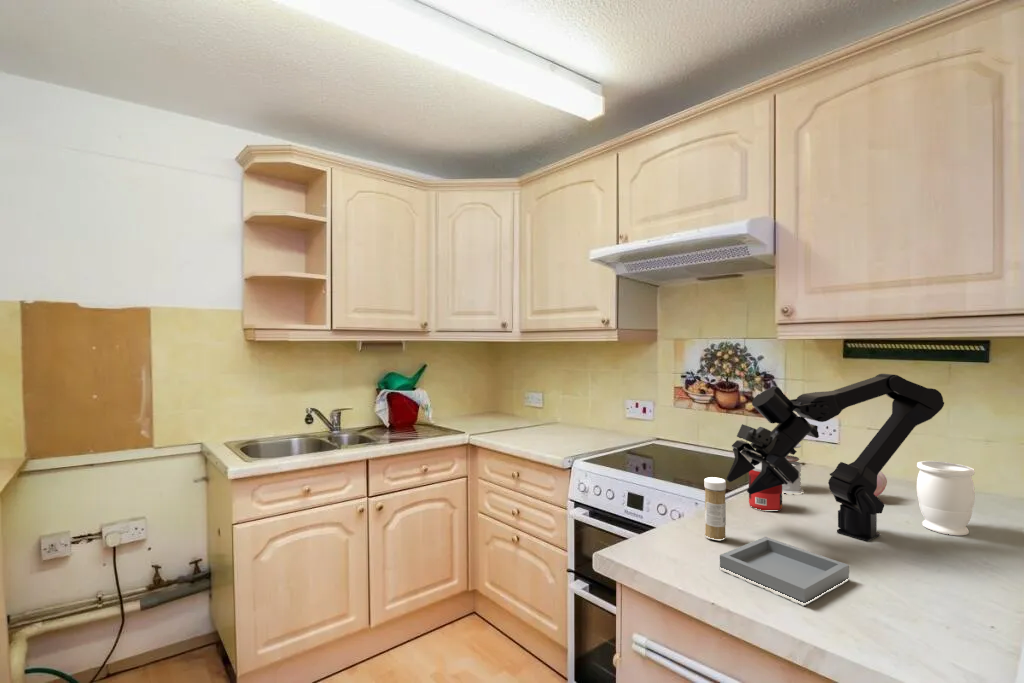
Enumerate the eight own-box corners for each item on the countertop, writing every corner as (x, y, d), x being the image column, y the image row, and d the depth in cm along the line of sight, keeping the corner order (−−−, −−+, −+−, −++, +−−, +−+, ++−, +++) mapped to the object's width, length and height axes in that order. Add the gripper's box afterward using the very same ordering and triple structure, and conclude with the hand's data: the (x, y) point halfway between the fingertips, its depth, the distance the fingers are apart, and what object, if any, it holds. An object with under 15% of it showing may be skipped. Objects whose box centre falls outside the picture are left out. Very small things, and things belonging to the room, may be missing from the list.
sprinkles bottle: (711, 532, 116) (710, 475, 116) (730, 538, 113) (729, 479, 113) (700, 537, 113) (700, 479, 113) (719, 544, 110) (719, 483, 110)
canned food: (788, 512, 129) (787, 470, 129) (757, 512, 129) (756, 470, 129) (773, 502, 137) (773, 462, 137) (743, 502, 137) (743, 462, 137)
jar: (916, 517, 125) (916, 458, 124) (973, 527, 118) (972, 464, 118) (916, 530, 116) (916, 466, 116) (976, 542, 110) (976, 474, 110)
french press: (785, 496, 142) (784, 409, 142) (755, 484, 153) (754, 403, 153) (812, 493, 145) (812, 407, 145) (781, 482, 156) (781, 402, 156)
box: (848, 580, 93) (848, 564, 93) (804, 606, 84) (804, 589, 84) (765, 550, 106) (765, 536, 106) (719, 570, 98) (719, 554, 98)
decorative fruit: (857, 492, 145) (857, 457, 145) (890, 499, 139) (890, 463, 139) (843, 498, 140) (843, 462, 140) (877, 506, 133) (877, 468, 133)
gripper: (739, 407, 123) (695, 452, 122) (785, 419, 104) (733, 473, 104) (770, 438, 123) (727, 483, 123) (821, 456, 105) (770, 510, 104)
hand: (737, 486), depth 113 cm, fingers open, 9 cm apart
